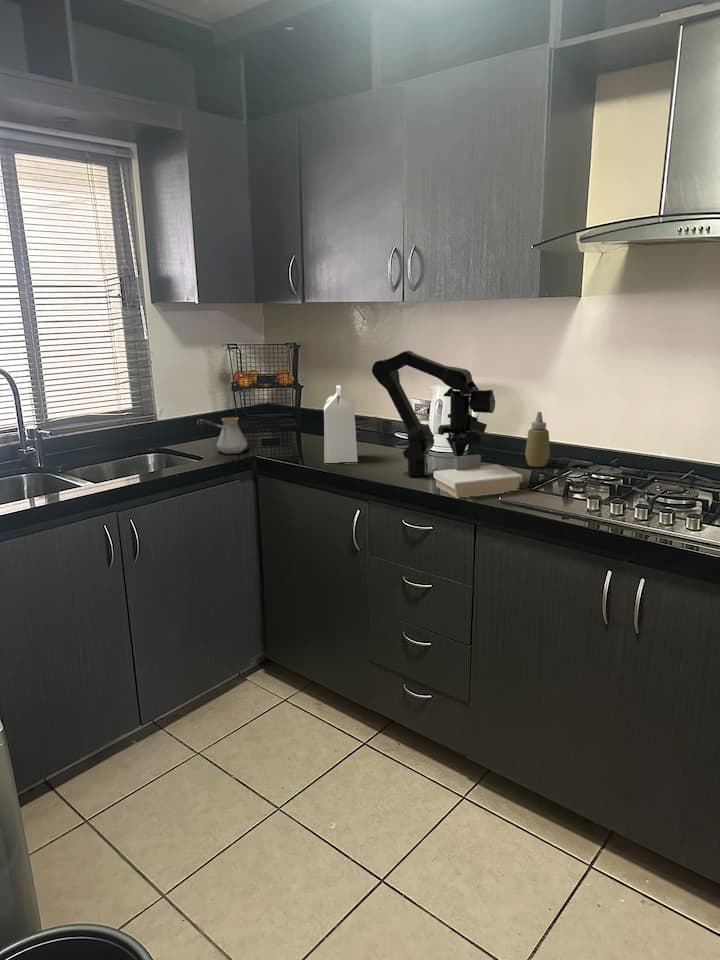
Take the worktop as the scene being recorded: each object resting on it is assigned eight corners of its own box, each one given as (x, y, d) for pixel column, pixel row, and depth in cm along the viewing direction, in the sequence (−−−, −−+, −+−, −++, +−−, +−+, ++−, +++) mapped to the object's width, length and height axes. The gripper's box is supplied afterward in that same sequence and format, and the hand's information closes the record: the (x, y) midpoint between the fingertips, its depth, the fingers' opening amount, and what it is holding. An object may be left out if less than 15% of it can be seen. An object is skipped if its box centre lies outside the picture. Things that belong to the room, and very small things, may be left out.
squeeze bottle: (543, 462, 235) (546, 409, 230) (553, 467, 227) (556, 413, 222) (520, 463, 233) (523, 410, 229) (530, 468, 226) (532, 414, 221)
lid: (433, 477, 207) (433, 458, 205) (497, 470, 213) (497, 451, 212) (454, 489, 193) (455, 468, 192) (521, 481, 200) (522, 461, 198)
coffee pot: (232, 447, 269) (229, 409, 265) (254, 450, 262) (251, 411, 259) (190, 458, 252) (187, 418, 248) (213, 462, 245) (209, 420, 242)
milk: (357, 463, 239) (355, 388, 233) (324, 464, 239) (321, 389, 232) (355, 455, 251) (354, 384, 244) (324, 456, 250) (321, 384, 244)
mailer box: (436, 486, 207) (436, 473, 206) (494, 479, 213) (495, 467, 212) (456, 498, 194) (457, 484, 193) (518, 491, 200) (519, 477, 199)
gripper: (498, 413, 203) (497, 465, 207) (469, 405, 220) (468, 452, 224) (464, 416, 200) (463, 468, 204) (437, 407, 217) (437, 456, 221)
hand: (458, 461), depth 213 cm, fingers closed
